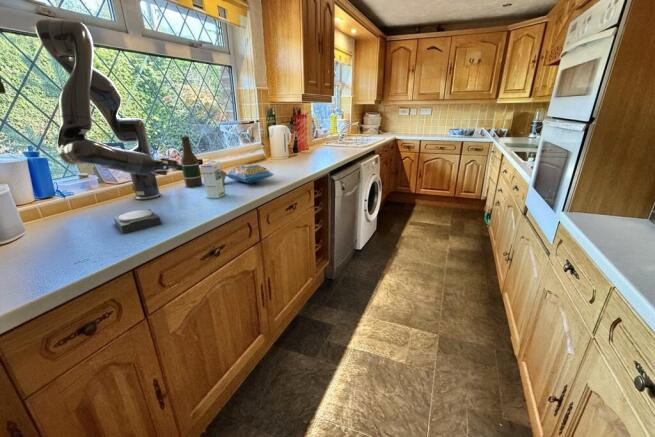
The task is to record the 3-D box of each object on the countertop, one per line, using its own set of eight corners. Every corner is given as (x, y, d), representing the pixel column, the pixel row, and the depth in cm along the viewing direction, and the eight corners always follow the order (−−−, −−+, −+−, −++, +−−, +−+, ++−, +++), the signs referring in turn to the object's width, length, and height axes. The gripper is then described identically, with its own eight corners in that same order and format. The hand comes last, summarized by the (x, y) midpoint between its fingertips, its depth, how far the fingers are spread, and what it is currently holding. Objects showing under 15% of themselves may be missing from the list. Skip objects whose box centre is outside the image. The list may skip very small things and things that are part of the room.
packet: (245, 189, 141) (243, 171, 138) (226, 181, 158) (223, 165, 155) (277, 183, 151) (276, 166, 148) (256, 176, 168) (254, 160, 165)
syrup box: (218, 198, 128) (213, 164, 123) (206, 197, 129) (200, 164, 124) (225, 194, 133) (220, 161, 128) (213, 194, 134) (208, 161, 129)
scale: (115, 224, 102) (112, 215, 101) (151, 216, 109) (149, 207, 108) (123, 233, 94) (120, 223, 92) (161, 224, 101) (159, 214, 99)
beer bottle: (205, 184, 153) (197, 135, 144) (193, 188, 146) (183, 137, 138) (194, 183, 156) (185, 135, 148) (182, 187, 149) (172, 137, 141)
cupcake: (206, 185, 150) (202, 161, 146) (218, 181, 158) (214, 158, 154) (220, 186, 147) (216, 162, 143) (231, 182, 155) (228, 159, 151)
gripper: (147, 146, 100) (186, 157, 115) (118, 156, 105) (159, 164, 120) (149, 169, 99) (188, 176, 115) (120, 177, 105) (161, 183, 120)
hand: (173, 170), depth 117 cm, fingers open, 8 cm apart
